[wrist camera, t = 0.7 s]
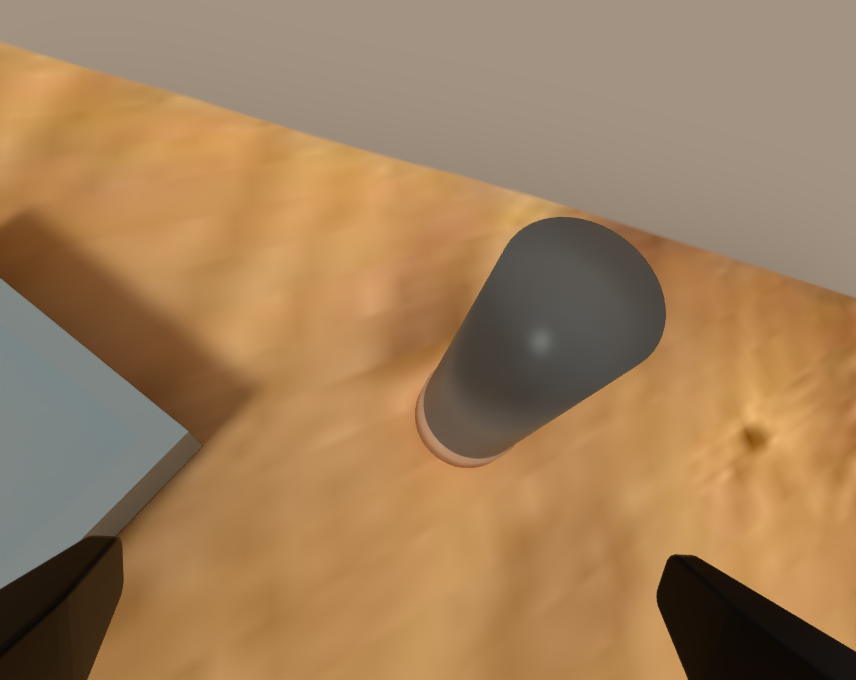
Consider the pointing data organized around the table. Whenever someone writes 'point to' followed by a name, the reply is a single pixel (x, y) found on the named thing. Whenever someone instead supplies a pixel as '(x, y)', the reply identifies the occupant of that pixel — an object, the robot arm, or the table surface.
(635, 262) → the grey rounded peg
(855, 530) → the table surface
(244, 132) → the table surface
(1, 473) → the tray
